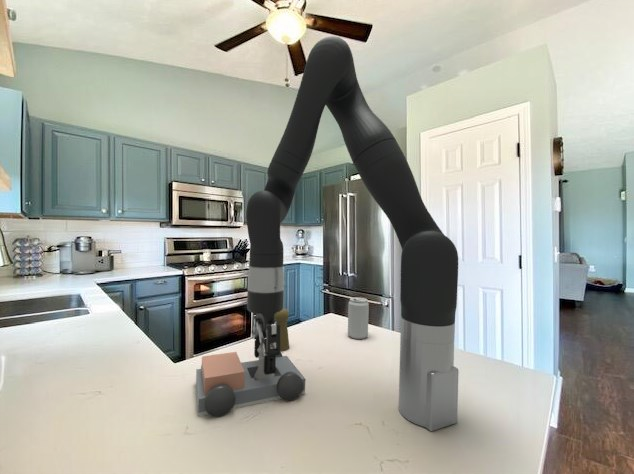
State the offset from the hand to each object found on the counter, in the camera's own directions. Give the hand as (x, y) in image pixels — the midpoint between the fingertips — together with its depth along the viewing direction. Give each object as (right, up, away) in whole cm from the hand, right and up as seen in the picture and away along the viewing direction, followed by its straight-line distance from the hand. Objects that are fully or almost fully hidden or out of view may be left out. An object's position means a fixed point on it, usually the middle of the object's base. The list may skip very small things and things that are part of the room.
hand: (264, 364), depth 62 cm
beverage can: (+24, -5, +32) cm, 40 cm away
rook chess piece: (0, -4, 0) cm, 4 cm away
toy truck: (-3, -5, -1) cm, 5 cm away
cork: (0, -5, +21) cm, 22 cm away
